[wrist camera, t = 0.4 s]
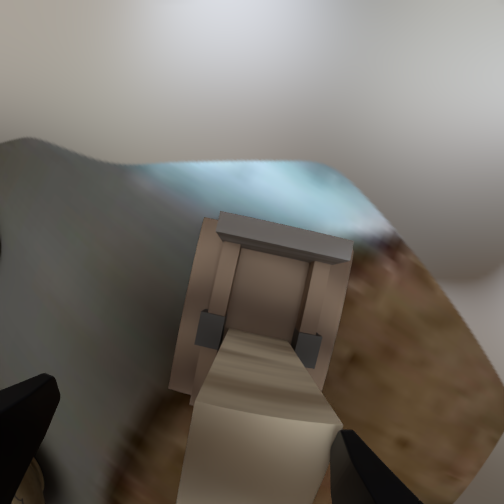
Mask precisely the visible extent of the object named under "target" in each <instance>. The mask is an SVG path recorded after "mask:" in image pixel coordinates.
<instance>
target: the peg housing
mask: <svg viewBox="0 0 504 504" xmlns="http://www.w3.org/2000/svg"><path fill="white" fill-rule="evenodd" d="M353 242H354V241H351V240H347V239H343V238H339V237H335V236H330V235H326V234H322V233H318V232H313V231H309V230H305V229H300V228H296V227H292V226H287V225H283V224H278V223H274V222H269V221H265V220H260V219H255V218H251V217H246V216H241V215H237V214H232V213H227V212H222V211H220V215H219V219H218V220H215V219H210V218H206V217H204V220H203V224H202V228H201V232H200V236H199V240H198V245H197V249H196V253H195V257H194V262H193V266H192V271H191V275H190V280H189V284H188V289H187V293H186V298H185V303H184V308H183V312H182V317H181V322H180V327H179V332H178V337H177V343H176V348H175V353H174V359H173V364H172V370H171V375H170V381H169V387H168V389H171V390H175V391H178V392H182V393H186V394H190V395H191V399H190V404H189V405H193V406H194V404H195V400H196V398H197V396H198V394H199V391H200V389H201V387H202V385H203V383H204V381H205V379H206V377H207V374H208V372H209V370H210V368H211V366H212V364H213V362H214V360H215V357H216V355H217V353H218V351H219V349H220V347H221V345H222V343H223V340H224V338H225V336H226V334H227V332H228V330H229V328H230V329H235V330H239V331H244V332H249V333H253V334H258V335H263V336H268V337H273V338H278V339H283V340H287V341H288V342H289V344H290V345H291V347H292V348H293V350H294V351H295V353H296V354H297V356H298V357H299V359H300V360H301V362H302V364H303V365H304V367H305V368H306V370H307V371H308V373H309V374H310V376H311V377H312V379H313V380H314V382H315V383H316V385H317V386H318V388H319V389H320V391H321V392H322V389H323V385H324V381H325V378H326V374H327V371H328V367H329V363H330V359H331V355H332V351H333V347H334V343H335V339H336V335H337V331H338V327H339V322H340V318H341V313H342V309H343V304H344V300H345V295H346V290H347V285H348V280H349V275H350V269H351V264H352V258H353V253H354V250H352V248H353Z"/></svg>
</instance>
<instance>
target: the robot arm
mask: <svg viewBox="0 0 504 504" xmlns="http://www.w3.org/2000/svg"><path fill="white" fill-rule="evenodd" d="M59 401H60V392H59V389H58V386H57V382H56V379H55V378H54V377H53V376H51V375H49V374H46V373H43V374H40V375H38V376H35V377H33V378H30V379H28V380H25V381H23V382H20V383H18V384H15V385H13V386H10V387H8V388H5V389H3V390H0V504H11V503H12V501H13V499H14V496H15V494H16V492H17V490H18V488H19V486H20V484H21V482H22V480H23V477H24V475H25V473H26V471H27V469H28V467H29V465H30V463H31V461H32V459H33V458H34V456H35V454H36V452H37V450H38V448H39V446H40V444H41V442H42V440H43V439H44V437H45V435H46V432H47V430H48V428H49V425H50V423H51V420H52V418H53V415H54V413H55V411H56V408H57V406H58V404H59ZM330 470H331V498H332V504H423V503H422V502H421V501H420V500H419V499H418V498H417V497H416V496H415V495H414V494H413V493H412V492H411V491H410V490H409V489H408V488H407V487H406V486H405V484H404V483H403V482H402V481H401V480H400V479H399V478H398V477H397V476H396V475H395V474H394V473H393V472H392V471H391V470H390V469H389V468H388V467H387V466H386V465H385V464H384V463H383V462H382V461H381V460H380V459H379V457H378V456H377V455H376V454H375V453H374V452H373V451H372V450H371V449H370V448H369V447H368V446H367V445H366V444H365V443H364V441H363V440H362V439H361V438H360V437H359V436H358V435H357V434H356V433H355V432H354V431H353V430H339V431H338V433H337V435H336V437H335V439H334V441H333V443H332V445H331V449H330Z"/></svg>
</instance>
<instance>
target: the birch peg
mask: <svg viewBox="0 0 504 504" xmlns="http://www.w3.org/2000/svg"><path fill="white" fill-rule="evenodd" d="M342 427H343V424H342V422H341V421H340V420H339V418H338V417H337V415H336V414H335V412H334V411H333V409H332V408H331V406H330V405H329V403H328V401H327V400H326V398H325V397H324V395H323V394H322V392H321V391H320V389H319V388H318V386H317V385H316V383H315V382H314V380H313V379H312V377H311V376H310V374H309V373H308V371H307V370H306V368H305V367H304V365H303V364H302V362H301V360H300V359H299V357H298V356H297V354H296V353H295V351H294V350H293V348H292V347H291V345H290V344H289V342H288V341H287V340H283V339H278V338H273V337H268V336H263V335H258V334H253V333H249V332H244V331H239V330H235V329H230V328H229V330H228V332H227V334H226V336H225V338H224V340H223V343H222V345H221V347H220V349H219V351H218V353H217V355H216V357H215V360H214V362H213V364H212V366H211V368H210V370H209V372H208V374H207V377H206V379H205V381H204V383H203V385H202V387H201V389H200V391H199V394H198V396H197V398H196V400H195V404H194V409H193V414H192V419H191V424H190V430H189V435H188V440H187V446H186V451H185V457H184V462H183V468H182V473H181V479H180V485H179V490H178V496H177V502H176V504H312V502H313V500H314V498H315V496H316V493H317V491H318V489H319V487H320V484H321V482H322V480H323V477H324V475H325V472H326V470H327V467H328V465H329V462H330V449H331V445H332V443H333V441H334V439H335V437H336V435H337V433H338V431H339V430H342Z"/></svg>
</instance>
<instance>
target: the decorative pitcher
mask: <svg viewBox="0 0 504 504" xmlns="http://www.w3.org/2000/svg"><path fill="white" fill-rule="evenodd" d="M43 490H44V477H43V474H42V471H41V469H40V466H39V464H38V463H37V461H36V459H35V458H33V459H32V461H31V463H30V465H29V467H28V469H27V471H26V473H25V475H24V477H23V480H22V482H21V484H20V486H19V488H18V490H17V492H16V494H15V496H14V499H13V501H12V503H11V504H45V500H44V495H43Z"/></svg>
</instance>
